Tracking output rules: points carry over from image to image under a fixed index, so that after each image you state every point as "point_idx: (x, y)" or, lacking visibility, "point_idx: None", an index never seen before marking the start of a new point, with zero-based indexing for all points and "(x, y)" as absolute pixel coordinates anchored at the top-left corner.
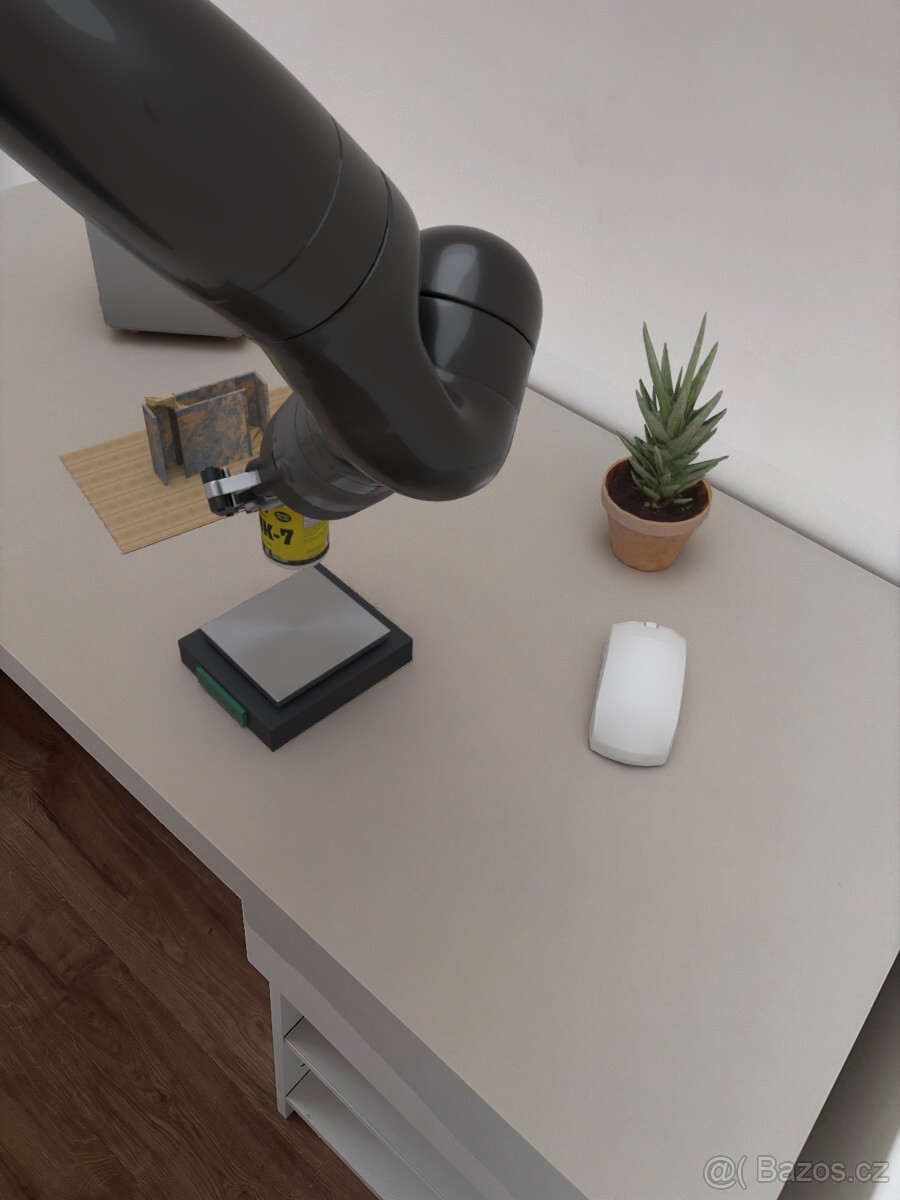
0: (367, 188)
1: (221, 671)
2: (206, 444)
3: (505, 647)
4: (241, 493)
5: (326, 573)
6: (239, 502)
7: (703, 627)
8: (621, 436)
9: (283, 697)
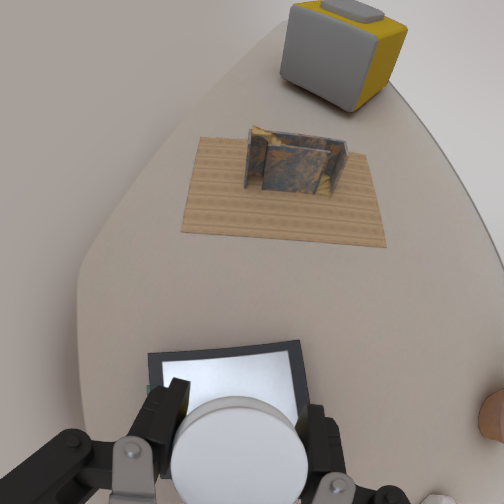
0: None
1: None
2: (284, 175)
3: (377, 473)
4: (106, 481)
5: (297, 357)
6: (99, 487)
7: (476, 489)
8: None
9: None
